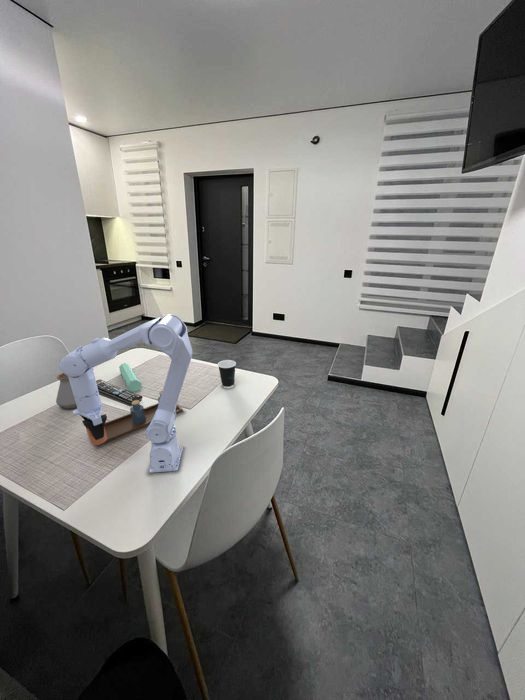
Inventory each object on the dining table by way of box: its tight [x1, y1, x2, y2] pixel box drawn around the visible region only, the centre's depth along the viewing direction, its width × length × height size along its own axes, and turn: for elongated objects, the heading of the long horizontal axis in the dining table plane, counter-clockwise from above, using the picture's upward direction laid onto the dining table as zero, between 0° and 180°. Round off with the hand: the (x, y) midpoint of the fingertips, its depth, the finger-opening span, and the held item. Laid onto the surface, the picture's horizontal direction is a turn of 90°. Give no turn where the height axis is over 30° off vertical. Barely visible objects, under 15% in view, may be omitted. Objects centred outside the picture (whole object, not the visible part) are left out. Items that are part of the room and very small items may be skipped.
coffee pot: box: [55, 372, 77, 410], centre depth 116 cm, size 21×12×15 cm, turn 25°
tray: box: [97, 402, 184, 447], centre depth 103 cm, size 29×10×2 cm, turn 131°
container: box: [118, 362, 143, 393], centre depth 132 cm, size 6×6×25 cm
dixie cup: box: [217, 359, 237, 389], centre depth 126 cm, size 8×8×11 cm
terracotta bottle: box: [85, 418, 107, 446], centre depth 81 cm, size 4×4×8 cm
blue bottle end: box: [157, 390, 163, 404], centre depth 108 cm, size 4×4×8 cm
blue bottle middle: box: [129, 399, 146, 425], centre depth 102 cm, size 4×4×8 cm
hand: (97, 433), depth 82 cm, fingers closed on terracotta bottle, 4 cm apart
